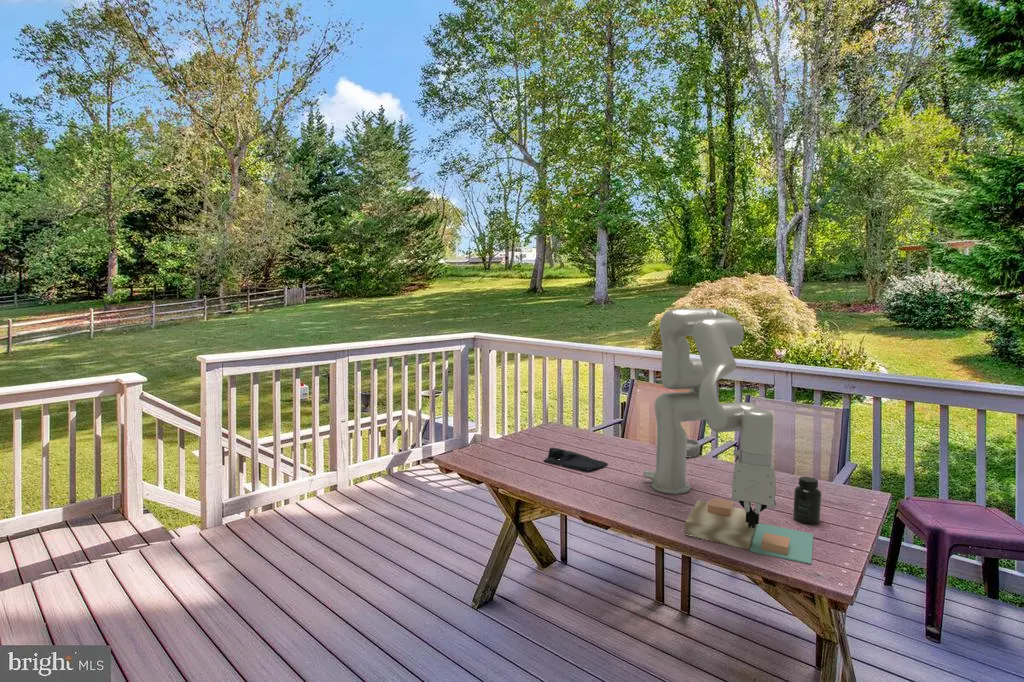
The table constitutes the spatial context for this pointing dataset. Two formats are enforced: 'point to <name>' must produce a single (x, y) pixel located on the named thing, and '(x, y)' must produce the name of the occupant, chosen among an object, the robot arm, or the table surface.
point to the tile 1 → (720, 507)
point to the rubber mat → (798, 543)
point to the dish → (693, 447)
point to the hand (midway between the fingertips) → (752, 525)
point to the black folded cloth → (573, 460)
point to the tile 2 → (775, 543)
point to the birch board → (720, 526)
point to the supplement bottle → (807, 501)
